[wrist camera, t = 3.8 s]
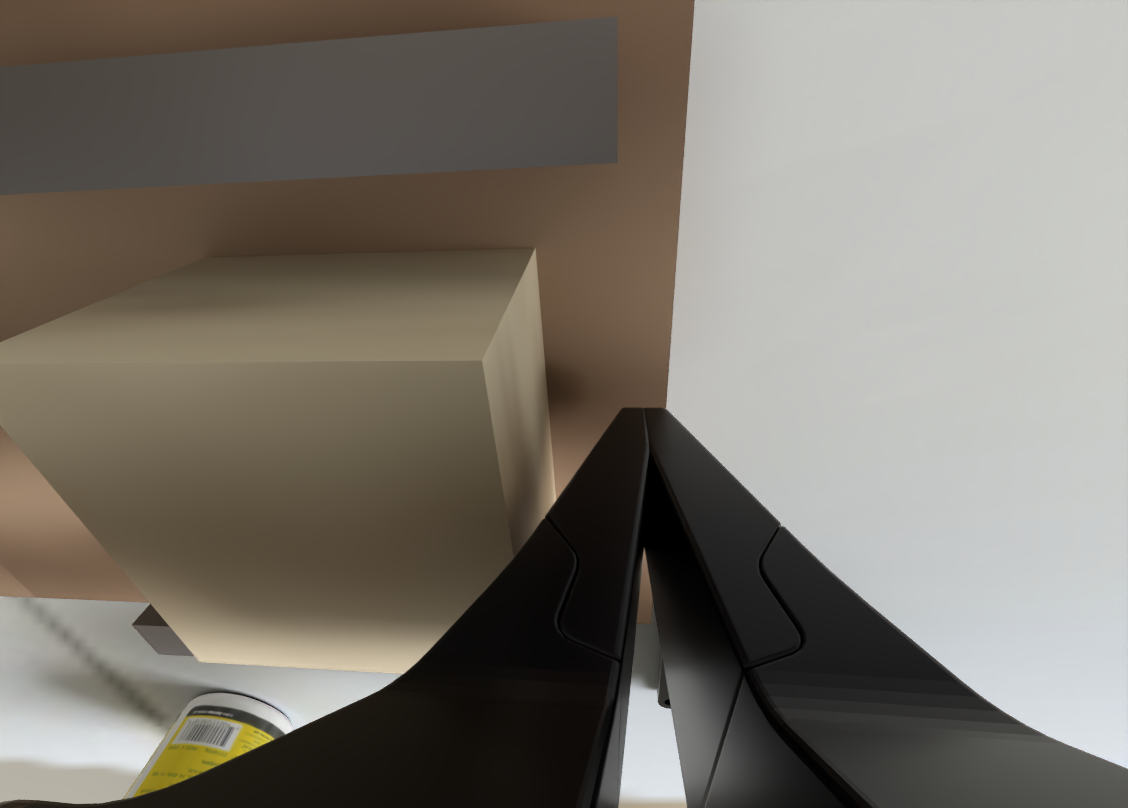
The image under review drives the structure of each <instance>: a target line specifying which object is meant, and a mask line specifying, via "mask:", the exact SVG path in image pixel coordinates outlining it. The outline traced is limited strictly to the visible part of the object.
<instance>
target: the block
mask: <svg viewBox="0 0 1128 808" xmlns="http://www.w3.org/2000/svg"><path fill="white" fill-rule="evenodd" d="M0 426H1V427H2V428H3V429H4V430H5V432H6V433H7V434H8V435H9V436H10V437H11V439H12V440H13V441H14V442H15V443H16V445H17V446H18V447H19V448H20V449H21V451H22V452H23V453H24V454H25V455H26V456H27V458H28V459H29V460H30V461H31V462H32V464H33V465H34V466H35V467H36V468H37V470H38V471H39V472H40V473H41V474H42V475H43V477H44V478H45V479H46V480H47V481H48V483H49V484H50V485H51V486H52V487H53V489H54V490H55V491H56V492H57V493H58V494H59V496H60V497H61V498H62V499H63V500H64V502H65V503H66V504H67V505H68V506H69V508H70V509H71V510H72V511H73V512H74V513H75V515H76V516H77V517H78V518H79V519H80V521H81V522H82V523H83V524H84V525H85V527H86V528H87V529H88V530H89V531H90V532H91V534H92V535H93V536H94V537H95V538H96V540H97V541H98V542H99V543H100V544H101V545H102V547H103V548H104V549H105V550H106V551H107V553H108V554H109V555H110V556H111V557H112V559H113V560H114V561H115V562H116V563H117V564H118V566H119V567H120V568H121V569H122V570H123V572H124V573H125V574H126V575H127V576H128V578H129V579H130V580H131V581H132V582H133V583H134V585H135V586H136V587H137V588H138V589H139V591H140V592H141V593H142V594H143V595H144V597H145V598H146V599H147V600H148V601H149V602H150V604H151V605H152V606H153V607H154V608H155V610H156V611H157V612H158V613H159V614H160V616H161V617H162V618H163V619H164V620H165V621H166V623H167V624H168V625H169V626H170V627H171V629H172V630H173V631H174V632H175V633H176V635H177V636H178V637H179V638H180V639H181V640H182V642H183V643H184V644H185V645H186V646H187V648H188V649H189V650H190V651H191V652H192V654H193V655H194V656H195V657H196V658H197V659H198V661H199V662H207V663H224V664H242V665H259V666H276V667H293V668H310V669H327V670H344V671H362V672H379V673H396V674H404V673H405V672H406V671H408V670H409V669H410V668H411V667H412V666H413V665H414V664H416V663H417V662H418V661H419V660H420V659H421V658H422V657H423V656H424V655H425V654H426V653H427V652H428V651H429V650H430V649H431V647H432V646H433V645H434V644H435V643H436V642H437V641H438V640H439V639H440V638H441V637H442V636H443V635H444V634H445V633H446V631H447V630H448V629H449V628H450V627H451V626H452V625H453V624H454V623H455V622H456V621H457V620H458V619H459V618H460V616H461V615H462V614H463V613H464V612H465V611H466V610H467V609H468V608H469V607H470V606H471V605H472V604H473V603H474V601H475V600H476V599H477V598H478V597H479V596H480V595H481V594H482V593H483V592H484V591H485V590H486V589H487V588H488V586H489V585H490V584H491V583H492V582H493V581H494V580H495V579H496V578H497V576H498V575H499V574H500V573H501V572H502V571H503V570H504V569H505V567H506V566H507V565H508V564H509V563H510V562H511V561H512V559H513V558H514V557H515V556H516V554H517V553H518V552H519V550H520V549H521V548H522V547H523V545H524V544H525V543H526V541H527V540H528V539H529V537H530V536H531V535H532V533H533V532H534V531H535V529H536V528H537V526H538V525H539V523H540V522H541V521H542V519H544V518H545V515H546V514H547V513H548V511H549V510H550V508H551V507H552V505H553V504H554V503H555V501H556V494H555V481H554V469H553V457H552V444H551V432H550V420H549V407H548V395H547V383H546V371H545V358H544V346H543V334H542V321H541V309H540V297H539V285H538V272H537V260H536V248H517V249H483V250H448V251H414V252H379V253H345V254H310V255H275V256H241V257H206V258H202V259H200V260H197V261H195V262H192V263H190V264H188V265H185V266H183V267H180V268H178V269H176V270H173V271H171V272H168V273H166V274H163V275H161V276H159V277H156V278H154V279H151V280H149V281H147V282H144V283H142V284H139V285H137V286H135V287H132V288H130V289H127V290H125V291H123V292H120V293H118V294H115V295H113V296H111V297H108V298H106V299H103V300H101V301H99V302H96V303H94V304H91V305H89V306H86V307H84V308H82V309H79V310H77V311H74V312H72V313H70V314H67V315H65V316H62V317H60V318H58V319H55V320H53V321H50V322H48V323H46V324H43V325H41V326H38V327H36V328H34V329H31V330H29V331H26V332H24V333H22V334H19V335H17V336H14V337H12V338H9V339H7V340H5V341H2V342H0Z"/></svg>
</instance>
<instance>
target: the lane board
mask: <svg viewBox="0 0 1128 808" xmlns="http://www.w3.org/2000/svg"><path fill="white" fill-rule="evenodd" d="M693 14H694V0H0V342H2V341H5V340H7V339H9V338H12V337H14V336H17V335H19V334H22V333H24V332H26V331H29V330H31V329H34V328H36V327H38V326H41V325H43V324H46V323H48V322H50V321H53V320H55V319H58V318H60V317H62V316H65V315H67V314H70V313H72V312H74V311H77V310H79V309H82V308H84V307H86V306H89V305H91V304H94V303H96V302H99V301H101V300H103V299H106V298H108V297H111V296H113V295H115V294H118V293H120V292H123V291H125V290H127V289H130V288H132V287H135V286H137V285H139V284H142V283H144V282H147V281H149V280H151V279H154V278H156V277H159V276H161V275H163V274H166V273H168V272H171V271H173V270H176V269H178V268H180V267H183V266H185V265H188V264H190V263H192V262H195V261H197V260H200V259H202V258H206V257H241V256H275V255H310V254H345V253H379V252H414V251H448V250H483V249H517V248H536V260H537V272H538V285H539V297H540V309H541V321H542V334H543V346H544V358H545V371H546V383H547V395H548V407H549V420H550V432H551V444H552V457H553V469H554V481H555V494H556V500H557V498H558V497H559V496H560V494H561V493H562V491H563V490H564V489H565V487H566V486H567V484H568V483H569V482H570V480H571V479H572V477H573V476H574V474H575V473H576V472H577V470H578V469H579V467H580V466H581V465H582V463H583V462H584V460H585V459H586V458H587V456H588V455H589V453H590V452H591V450H592V449H593V448H594V446H595V445H596V443H597V442H598V441H599V439H600V438H601V436H602V435H603V434H604V432H605V431H606V429H607V428H608V426H609V425H610V424H611V422H612V421H613V419H614V418H615V417H616V415H617V414H618V412H619V411H620V410H621V409H622V408H623V407H642V408H646V407H650V408H665V409H666V400H667V386H668V372H669V357H670V343H671V329H672V314H673V300H674V286H675V272H676V257H677V243H678V229H679V214H680V200H681V186H682V171H683V157H684V143H685V129H686V114H687V100H688V86H689V71H690V57H691V43H692V28H693ZM0 596H14V597H37V598H60V599H83V600H106V601H129V602H149V601H148V600H147V599H146V598H145V597H144V595H143V594H142V593H141V592H140V591H139V589H138V588H137V587H136V586H135V585H134V583H133V582H132V581H131V580H130V579H129V578H128V576H127V575H126V574H125V573H124V572H123V570H122V569H121V568H120V567H119V566H118V564H117V563H116V562H115V561H114V560H113V559H112V557H111V556H110V555H109V554H108V553H107V551H106V550H105V549H104V548H103V547H102V545H101V544H100V543H99V542H98V541H97V540H96V538H95V537H94V536H93V535H92V534H91V532H90V531H89V530H88V529H87V528H86V527H85V525H84V524H83V523H82V522H81V521H80V519H79V518H78V517H77V516H76V515H75V513H74V512H73V511H72V510H71V509H70V508H69V506H68V505H67V504H66V503H65V502H64V500H63V499H62V498H61V497H60V496H59V494H58V493H57V492H56V491H55V490H54V489H53V487H52V486H51V485H50V484H49V483H48V481H47V480H46V479H45V478H44V477H43V475H42V474H41V473H40V472H39V471H38V470H37V468H36V467H35V466H34V465H33V464H32V462H31V461H30V460H29V459H28V458H27V456H26V455H25V454H24V453H23V452H22V451H21V449H20V448H19V447H18V446H17V445H16V443H15V442H14V441H13V440H12V439H11V437H10V436H9V435H8V434H7V433H6V432H5V430H4V429H3V428H2V427H1V426H0ZM652 600H653V597H652V591H651V585H650V579H649V573H648V567H647V561H646V555H645V549H644V554H643V564H642V574H641V584H640V594H639V604H638V614H637V623H639V624H651V615H652ZM132 626H133V627H134V628H135V629H136V630H137V631H138V632H139V633H140V634H141V635H142V637H143V638H144V639H145V640H146V641H147V642H148V643H149V644H150V645H151V646H152V647H153V649H154V650H155V651H156V652H157V653H158V654H166V655H184V656H194V655H193V654H192V652H191V651H190V650H189V649H188V648H187V646H186V645H185V644H184V643H183V642H182V640H181V639H180V638H179V637H178V636H177V635H176V633H175V632H174V631H173V630H172V629H171V627H170V626H169V625H168V624H167V623H166V621H165V620H164V619H163V618H162V617H161V616H160V614H159V613H158V612H157V611H156V610H155V608H154V607H153V606H152V605H151V604H150V605H149V606H148V607H147V608H146V610H145V611H144V612H143V613H142V614H141V615H140V616H139V617H138V618H137V620H136V621H135V622H134V623H133V624H132Z"/></svg>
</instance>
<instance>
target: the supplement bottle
mask: <svg viewBox="0 0 1128 808" xmlns="http://www.w3.org/2000/svg"><path fill="white" fill-rule="evenodd" d="M291 731H293V726H292V724H291V722H290V721H289V719H288V718H287V717H286V716H285V715H283V714H282V713H281V712H279V711H278V710H276V709H275V708H273V707H271V706H269V705H267V704H265V703H262V702H260V701H257V700H255V699H252V698H249V697H245V696H241V695H236V694H229V693H210V694H205V695H201V696H198V697H196V698H194V699H193V700H192V701H190V702H189V703H188V704H187V706H186V707H185V708H184V710H183V711H182V712H181V714H180V715H179V716H178V718H177V720H176V721H175V723H174V724H173V725H172V727H171V728H170V730H169V731H168V733H167V734H166V736H165V737H164V739H163V740H162V741H161V743H160V744H159V746H158V748H157V749H156V750H155V752H154V753H153V755H152V756H151V758H150V759H149V761H148V762H147V764H146V765H145V767H144V768H143V770H142V771H141V773H140V774H139V776H138V777H137V779H136V780H135V782H134V783H133V785H132V786H131V788H130V789H129V791H128V792H127V794H126V795H125V797H124V798H123V799H127V798H132V797H136V796H139V795H143V794H146V793H149V792H153V791H156V790H159V789H163V788H166V787H169V786H171V785H174V784H176V783H178V782H181V781H183V780H186V779H188V778H191V777H193V776H195V775H198V774H200V773H203V772H205V771H207V770H209V769H211V768H213V767H216V766H218V765H220V764H222V763H224V762H226V761H229V760H231V759H233V758H235V757H237V756H239V755H242V754H244V753H246V752H248V751H250V750H252V749H255V748H257V747H259V746H261V745H263V744H265V743H268V742H270V741H272V740H274V739H276V738H278V737H281V736H283V735H285V734H287V733H289V732H291Z"/></svg>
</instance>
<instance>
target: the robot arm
mask: <svg viewBox="0 0 1128 808" xmlns="http://www.w3.org/2000/svg"><path fill="white" fill-rule="evenodd" d="M644 549H645V555H646V561H647V567H648V573H649V579H650V585H651V591H652V597H653V603H654V609H655V615H656V621H657V627H658V633H659V639H660V645H661V657H660V668H659V678H658V689H657V694H658V703H659V705H660V706H662V707H665V708H670V709H671V711H672V717H673V723H674V729H675V735H676V741H677V747H678V753H679V759H680V765H681V771H682V777H683V783H684V789H685V795H686V803H687V808H1128V769H1127V768H1124V767H1122V766H1119V765H1117V764H1114V763H1112V762H1109V761H1107V760H1104V759H1102V758H1099V757H1097V756H1094V755H1092V754H1089V753H1087V752H1084V751H1082V750H1079V749H1077V748H1074V747H1072V746H1069V745H1067V744H1064V743H1062V742H1060V741H1057V740H1055V739H1053V738H1050V737H1048V736H1046V735H1044V734H1042V733H1040V732H1038V731H1036V730H1034V729H1032V728H1030V727H1028V726H1026V725H1025V724H1023V723H1021V722H1020V721H1018V720H1016V719H1015V718H1013V717H1011V716H1010V715H1008V714H1006V713H1005V712H1003V711H1002V710H1000V709H999V708H997V707H996V706H994V705H993V704H992V703H990V702H989V701H987V700H986V699H984V698H983V697H982V696H980V695H979V694H978V693H976V692H975V691H974V690H973V689H971V688H970V687H969V686H967V685H966V684H965V683H964V682H962V681H961V680H960V679H959V678H957V677H956V676H955V675H954V674H953V673H951V672H950V671H949V670H948V669H947V668H945V667H944V666H943V665H942V664H941V663H939V662H938V661H937V660H936V659H935V658H933V657H932V656H931V655H930V654H929V653H927V652H926V651H925V650H924V649H923V648H921V647H920V646H919V645H918V644H916V643H915V642H914V641H913V640H912V639H910V638H909V637H908V636H907V635H906V634H904V633H903V632H902V631H901V630H900V629H898V628H897V627H896V626H895V625H894V624H892V623H891V622H890V621H889V620H888V619H886V618H885V617H884V616H883V615H881V614H880V613H879V612H878V611H877V610H875V609H874V608H873V607H872V606H871V605H869V604H868V603H867V602H866V601H865V600H863V599H862V598H861V597H860V596H859V595H858V594H857V593H855V592H854V591H853V590H852V589H851V588H850V587H848V586H847V585H846V584H845V583H844V582H843V581H841V580H840V579H839V578H838V577H837V576H836V575H835V574H833V573H832V572H831V571H830V570H829V569H828V568H827V567H826V566H825V565H824V564H822V563H821V562H820V561H819V560H818V559H817V558H816V557H815V556H814V555H813V554H812V553H811V552H810V551H809V550H808V549H807V548H806V547H805V546H803V545H802V544H801V543H800V542H799V541H798V540H797V539H796V538H795V537H794V536H793V535H792V534H791V533H790V532H789V531H788V530H787V529H786V528H785V527H784V526H781V523H780V522H779V521H778V520H777V519H776V518H775V517H774V516H773V515H772V514H771V513H770V512H769V511H768V510H767V509H766V508H765V507H764V506H763V505H762V504H761V503H760V502H759V501H758V500H757V499H756V498H755V497H754V496H753V495H752V494H751V493H750V492H749V491H748V490H747V489H746V488H745V487H744V486H743V485H742V484H741V483H740V482H739V481H738V480H737V479H736V478H735V477H734V476H733V475H732V474H731V473H730V472H729V471H728V470H727V469H726V468H725V467H724V466H723V465H722V464H721V463H720V462H719V461H718V460H717V459H716V458H715V457H714V456H713V455H712V454H711V453H710V452H709V451H708V450H707V449H706V448H705V447H704V446H703V445H702V444H701V443H700V442H699V441H698V440H697V439H696V438H695V437H694V436H693V435H692V434H691V433H690V432H689V431H688V430H687V429H686V428H685V427H684V426H683V425H682V424H681V423H680V422H679V421H678V420H677V419H676V418H675V417H674V416H673V415H672V414H671V413H670V412H669V411H668V410H667V409H665V408H650V407H646V408H642V407H623V408H622V409H621V410H620V411H619V412H618V414H617V415H616V417H615V418H614V419H613V421H612V422H611V424H610V425H609V426H608V428H607V429H606V431H605V432H604V434H603V435H602V436H601V438H600V439H599V441H598V442H597V443H596V445H595V446H594V448H593V449H592V450H591V452H590V453H589V455H588V456H587V458H586V459H585V460H584V462H583V463H582V465H581V466H580V467H579V469H578V470H577V472H576V473H575V474H574V476H573V477H572V479H571V480H570V482H569V483H568V484H567V486H566V487H565V489H564V490H563V491H562V493H561V494H560V496H559V497H558V498H557V500H556V501H555V503H554V504H553V505H552V507H551V508H550V510H549V511H548V513H547V514H546V515H545V518H544V519H542V521H541V522H540V523H539V525H538V526H537V528H536V529H535V531H534V532H533V533H532V535H531V536H530V537H529V539H528V540H527V541H526V543H525V544H524V545H523V547H522V548H521V549H520V550H519V552H518V553H517V554H516V556H515V557H514V558H513V559H512V561H511V562H510V563H509V564H508V565H507V566H506V567H505V569H504V570H503V571H502V572H501V573H500V574H499V575H498V576H497V578H496V579H495V580H494V581H493V582H492V583H491V584H490V585H489V586H488V588H487V589H486V590H485V591H484V592H483V593H482V594H481V595H480V596H479V597H478V598H477V599H476V600H475V601H474V603H473V604H472V605H471V606H470V607H469V608H468V609H467V610H466V611H465V612H464V613H463V614H462V615H461V616H460V618H459V619H458V620H457V621H456V622H455V623H454V624H453V625H452V626H451V627H450V628H449V629H448V630H447V631H446V633H445V634H444V635H443V636H442V637H441V638H440V639H439V640H438V641H437V642H436V643H435V644H434V645H433V646H432V647H431V649H430V650H429V651H428V652H427V653H426V654H425V655H424V656H423V657H422V658H421V659H420V660H419V661H418V662H417V663H416V664H414V665H413V666H412V667H411V668H410V669H409V670H408V671H406V672H405V673H404V674H403V675H401V676H400V677H399V678H397V679H396V680H395V681H393V682H392V683H391V684H389V685H387V686H386V687H384V688H383V689H381V690H380V691H378V692H376V693H374V694H372V695H370V696H367V697H365V698H363V699H361V700H359V701H357V702H354V703H352V704H350V705H348V706H346V707H344V708H341V709H339V710H337V711H335V712H333V713H331V714H328V715H326V716H324V717H322V718H320V719H318V720H315V721H313V722H311V723H309V724H307V725H305V726H302V727H300V728H298V729H296V730H294V731H291V732H289V733H287V734H285V735H283V736H281V737H278V738H276V739H274V740H272V741H270V742H268V743H265V744H263V745H261V746H259V747H257V748H255V749H252V750H250V751H248V752H246V753H244V754H242V755H239V756H237V757H235V758H233V759H231V760H229V761H226V762H224V763H222V764H220V765H218V766H216V767H213V768H211V769H209V770H207V771H205V772H203V773H200V774H198V775H195V776H193V777H191V778H188V779H186V780H183V781H181V782H178V783H176V784H174V785H171V786H169V787H166V788H163V789H159V790H156V791H153V792H149V793H146V794H143V795H139V796H136V797H132V798H127V799H122V800H117V801H112V802H106V803H100V804H69V803H59V802H49V801H39V800H13V801H5V802H1V803H0V808H618V805H619V795H620V785H621V775H622V765H623V755H624V745H625V735H626V725H627V715H628V705H629V694H630V684H631V674H632V664H633V654H634V644H635V634H636V624H637V614H638V604H639V594H640V584H641V574H642V564H643V554H644Z"/></svg>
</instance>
